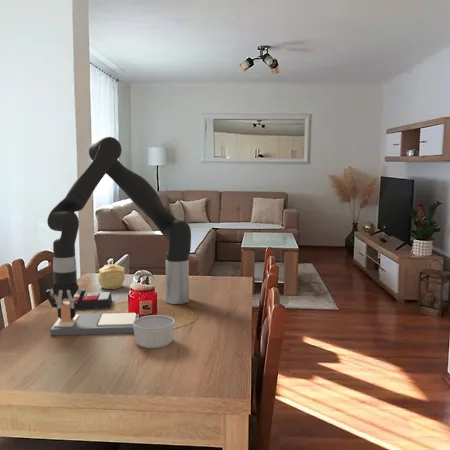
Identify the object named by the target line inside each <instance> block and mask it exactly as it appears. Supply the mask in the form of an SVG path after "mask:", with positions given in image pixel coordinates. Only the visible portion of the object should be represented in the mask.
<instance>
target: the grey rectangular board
mask: <svg viewBox="0 0 450 450" xmlns="http://www.w3.org/2000/svg"><path fill="white" fill-rule="evenodd" d="M78 314H79V316H78V318H77V320H76V322H75V324H74V325H73V327H54V325H55V324H56V323H57V321H58V320H59V317H57V318H56V320H55V322H54V324H52V327H51V328H50V329H49V331H50V333H49V334H50V336H70V335H72V336H74V335H75V336H76V335H79V336H80V335H104V334H105V335H106V334H110V335H111V334H134V328H133V321H134V320H136V319H137V318H139V314H136V313H135V312H106V313H104V312H101V313H78Z"/></svg>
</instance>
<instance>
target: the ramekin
mask: <svg viewBox="0 0 450 450" xmlns="http://www.w3.org/2000/svg"><path fill="white" fill-rule="evenodd" d="M175 326H176V321H175V319H174V318H173V317H172V316H169V315H163V314H152V315H150V314H149V315H144V316H140V318H137V319H136V320H134V321H133V328H134V333H133V334H134V339H135V342H136V344H137V345H138V346H140V347H142V348H144V349H145V348H147V349H159V348H164V347H167V346H169V345H170V344H171V342H172V341H173V339H174V332H175V331H174V330H175Z"/></svg>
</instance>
